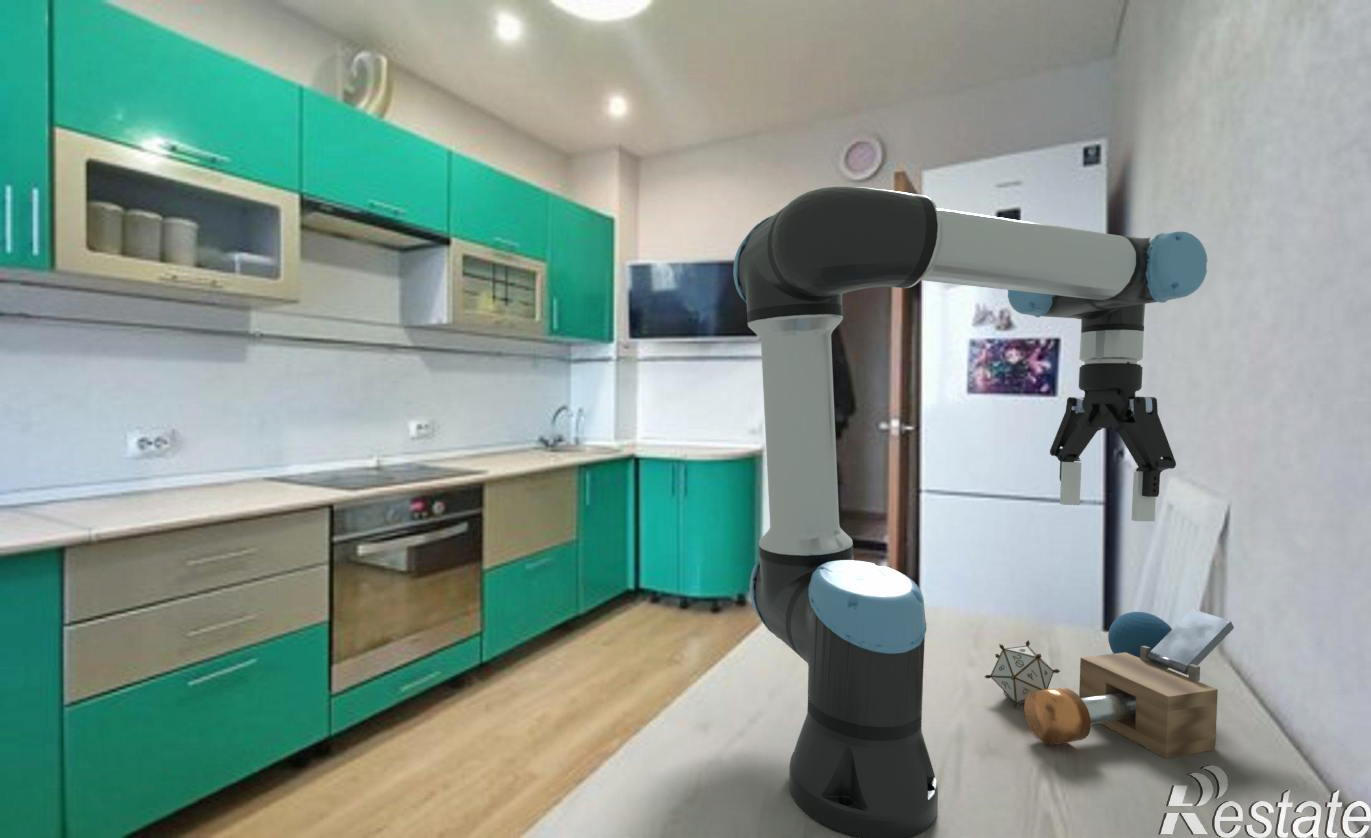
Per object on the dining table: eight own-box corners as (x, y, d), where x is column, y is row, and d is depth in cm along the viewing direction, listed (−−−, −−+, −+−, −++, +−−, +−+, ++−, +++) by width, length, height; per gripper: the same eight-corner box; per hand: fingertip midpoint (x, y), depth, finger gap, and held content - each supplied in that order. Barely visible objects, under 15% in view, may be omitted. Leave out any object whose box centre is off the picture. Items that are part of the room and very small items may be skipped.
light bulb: (1096, 680, 99) (1099, 602, 98) (1158, 686, 97) (1161, 606, 97) (1121, 705, 90) (1124, 620, 90) (1189, 712, 89) (1193, 625, 88)
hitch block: (1165, 758, 77) (1168, 681, 77) (1078, 711, 88) (1081, 644, 88) (1217, 748, 79) (1220, 674, 79) (1126, 704, 91) (1128, 639, 90)
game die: (1035, 733, 90) (1076, 695, 84) (974, 705, 91) (1010, 666, 85) (1031, 680, 97) (1069, 641, 91) (975, 654, 98) (1008, 615, 92)
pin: (1063, 754, 76) (1065, 704, 76) (1023, 729, 82) (1025, 682, 82) (1165, 737, 81) (1167, 689, 81) (1121, 714, 87) (1122, 670, 86)
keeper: (1186, 676, 82) (1182, 669, 82) (1150, 661, 87) (1146, 655, 87) (1234, 627, 84) (1230, 620, 84) (1196, 615, 89) (1192, 609, 89)
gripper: (1216, 358, 80) (1207, 529, 81) (1071, 368, 105) (1065, 499, 106) (1161, 356, 79) (1153, 528, 80) (1028, 366, 104) (1023, 498, 105)
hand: (1103, 512), depth 93 cm, fingers open, 13 cm apart
